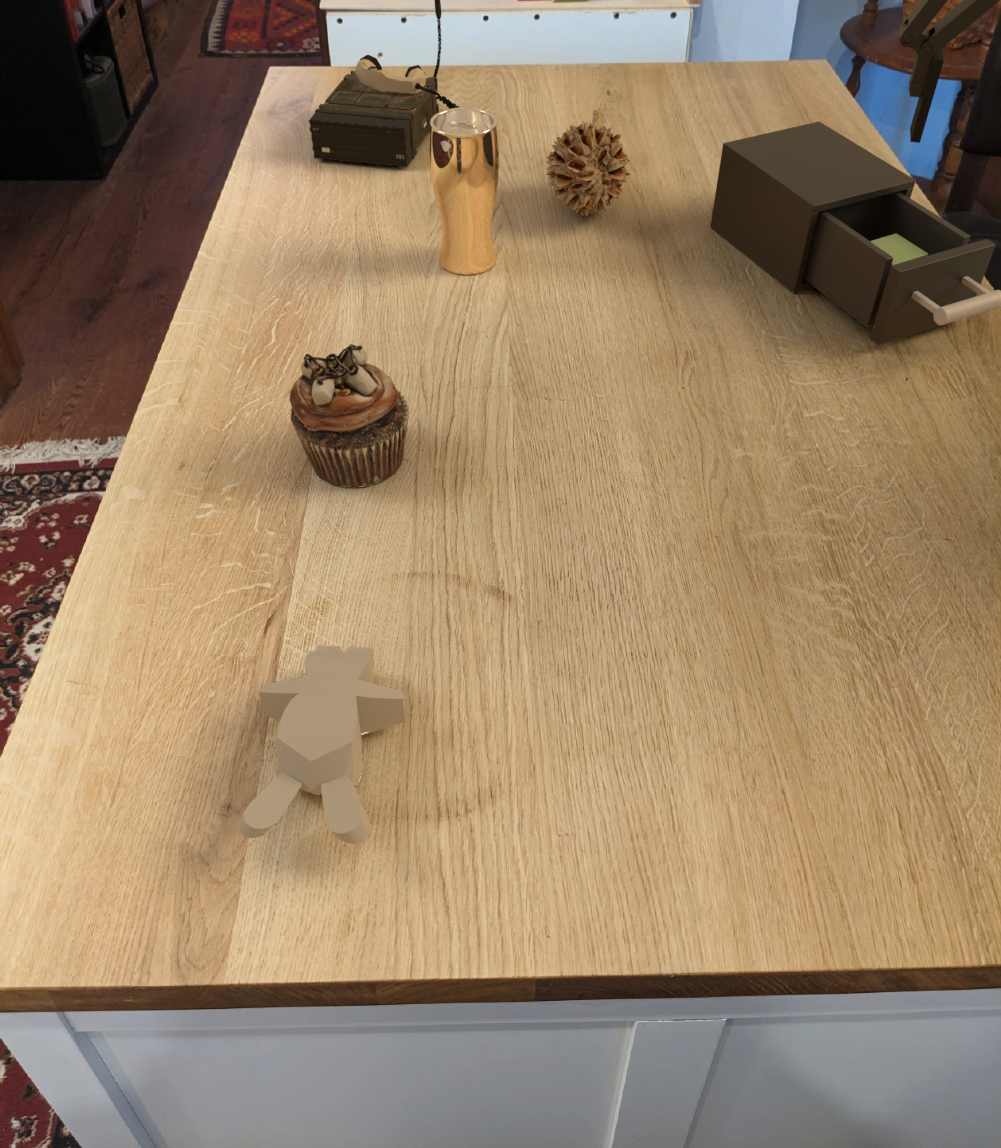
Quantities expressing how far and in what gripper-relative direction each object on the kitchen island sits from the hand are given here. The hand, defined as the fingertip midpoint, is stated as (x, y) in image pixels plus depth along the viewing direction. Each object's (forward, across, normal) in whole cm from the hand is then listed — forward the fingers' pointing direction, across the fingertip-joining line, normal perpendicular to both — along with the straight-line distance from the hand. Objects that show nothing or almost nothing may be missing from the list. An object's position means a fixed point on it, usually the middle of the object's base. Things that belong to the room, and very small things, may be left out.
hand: (999, 144), depth 85 cm
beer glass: (+20, +48, -4) cm, 52 cm away
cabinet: (+20, +14, -16) cm, 29 cm away
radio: (+19, +65, -34) cm, 76 cm away
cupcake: (+20, +48, +30) cm, 60 cm away
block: (+18, +5, -6) cm, 19 cm away
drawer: (+19, +4, -5) cm, 20 cm away
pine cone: (+20, +38, -23) cm, 49 cm away
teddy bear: (+20, +39, +59) cm, 74 cm away
